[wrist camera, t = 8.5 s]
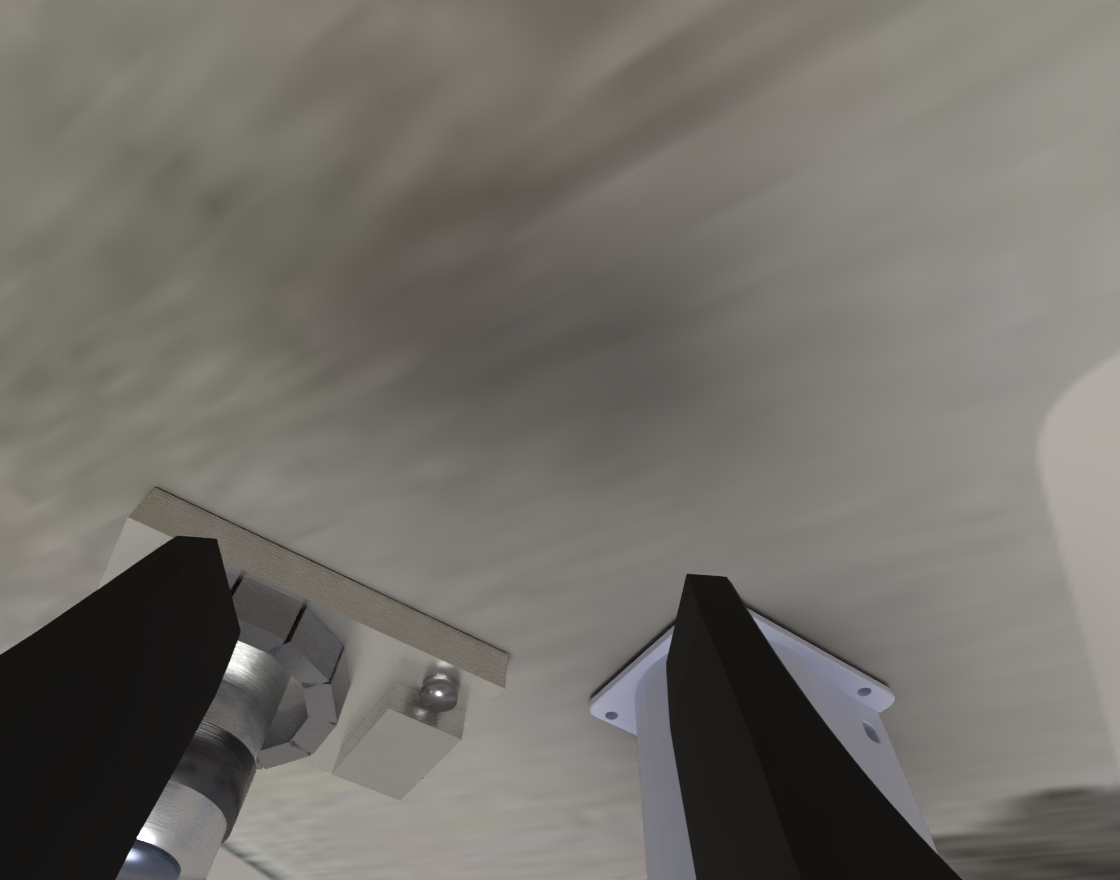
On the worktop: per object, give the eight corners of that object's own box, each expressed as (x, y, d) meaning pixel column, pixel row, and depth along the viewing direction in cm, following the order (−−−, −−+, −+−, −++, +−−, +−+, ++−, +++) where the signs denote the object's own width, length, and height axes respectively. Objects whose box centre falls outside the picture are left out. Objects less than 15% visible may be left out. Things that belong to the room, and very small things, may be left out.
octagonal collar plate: (508, 654, 27) (499, 727, 24) (404, 763, 31) (386, 835, 28) (155, 487, 23) (97, 551, 20) (89, 637, 27) (33, 707, 24)
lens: (305, 699, 26) (221, 914, 20) (181, 689, 26) (59, 902, 20) (290, 615, 23) (189, 834, 17) (152, 604, 23) (1, 820, 17)
